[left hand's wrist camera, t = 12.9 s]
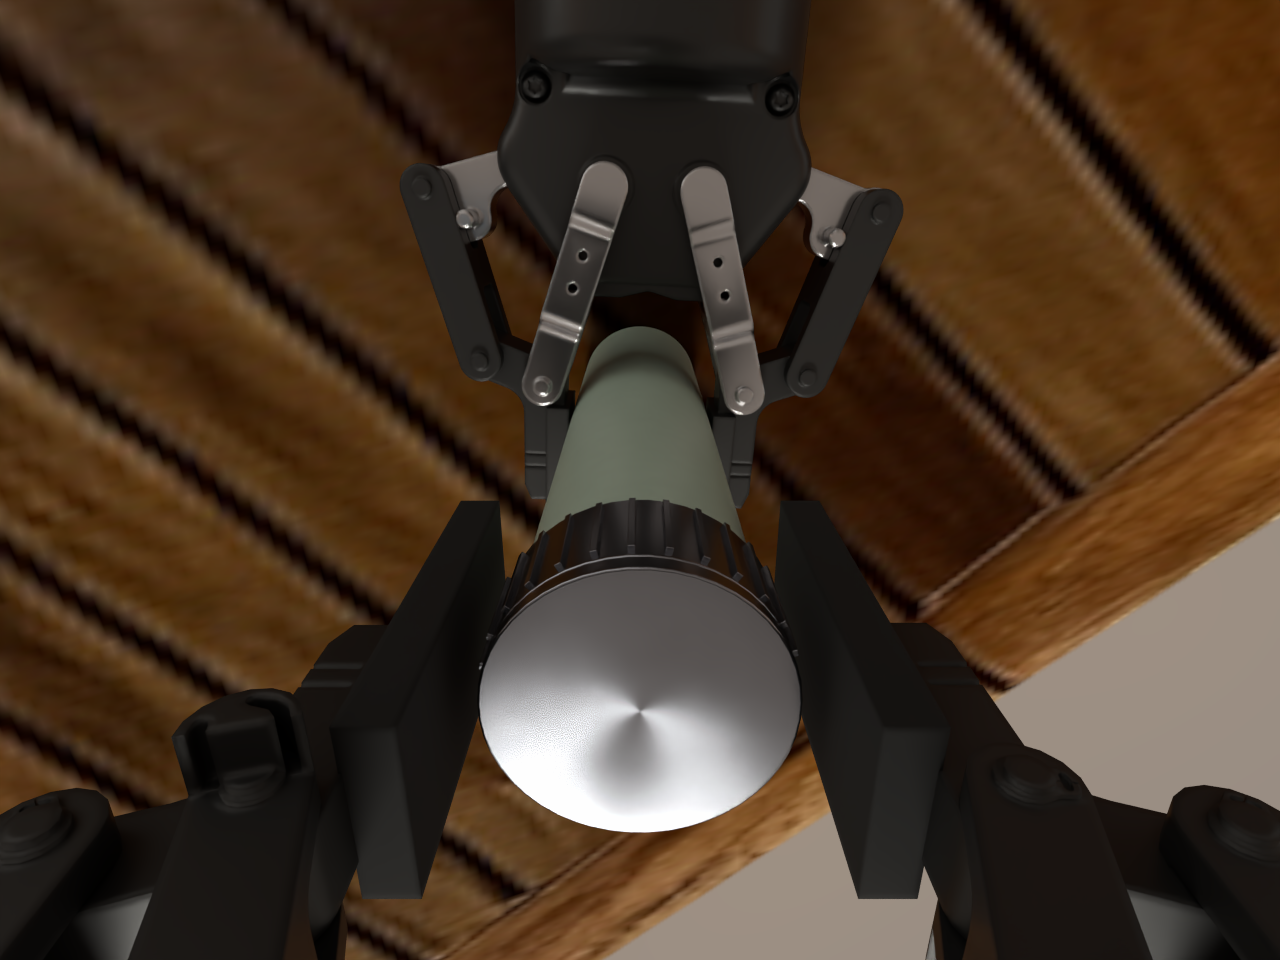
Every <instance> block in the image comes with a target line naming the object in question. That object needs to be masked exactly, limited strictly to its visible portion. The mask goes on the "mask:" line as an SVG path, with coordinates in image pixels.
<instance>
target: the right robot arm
mask: <svg viewBox="0 0 1280 960" xmlns="http://www.w3.org/2000/svg"><path fill="white" fill-rule="evenodd" d="M810 6H811V0H515V55H516V92H515V100H514V105H513V109H512V112H511V115H510V118H509V120H508V123H507V124H506V126H505V128H504V130H503V132H502V134H501V136H500V139H499V143H498V148H497V151H495V152H491V153H487V154H484V155H480V156H476V157H473V158H469V159H466V160H462V161H458V162H455V163H451V164H448V165H444V166H438V165H431V164H423V163H417V164H413V165H411V166H409V167H408V168H407V169H406V170H405V171H404V172H403V174H402V176H401V179H400V191H401V195H402V197H403V200H404V203H405V206H406V209H407V212H408V215H409V218H410V221H411V224H412V227H413V230H414V232H415V235H416V238H417V241H418V244H419V247H420V250H421V253H422V256H423V259H424V262H425V265H426V267H427V270H428V273H429V276H430V279H431V282H432V285H433V288H434V291H435V294H436V297H437V300H438V302H439V305H440V308H441V311H442V314H443V317H444V320H445V323H446V326H447V329H448V332H449V335H450V337H451V340H452V343H453V346H454V349H455V352H456V355H457V358H458V361H459V364H460V366H461V369H462V370H463V372H464V373H465V374H466V375H467V376H468V377H469V378H471V379H473V380H476V381H487V380H489V381H492V382H494V383H497V384H499V385H502V386H504V387H507V388H509V389H511V390H512V391H514V392H515V393H516V394H517V395H518V396H519V398H520V399H521V401H522V403H523V406H524V418H525V484H526V487H527V489H528V491H529V494H530V496H531V498H532V499H546V501H547V498H548V495H549V491H550V488H551V485H552V481H553V478H554V475H555V472H556V468H557V465H558V462H559V458H560V455H561V452H562V448H563V445H564V442H565V439H566V435H567V432H568V429H569V425H570V422H571V419H572V415H573V412H574V409H575V391H572V390H569V373H570V370H571V367H572V364H573V361H574V358H575V355H576V352H577V349H578V346H579V343H580V340H581V337H582V334H583V331H584V328H585V325H586V322H587V319H588V316H589V313H590V310H591V307H592V304H593V301H594V298H595V296H603V297H624V296H628V295H633V294H637V293H642V292H647V291H649V292H653V293H656V294H659V295H662V296H665V297H668V298H671V299H674V300H684V301H698V304H699V309H700V313H701V317H702V321H703V325H704V329H705V333H706V337H707V342H708V346H709V351H710V355H711V360H712V364H713V369H714V373H715V378H716V380H715V391H714V398H711V397H707V403H706V413H707V416H708V420H709V423H710V426H711V430H712V433H713V436H714V440H715V443H716V446H717V449H718V453H719V456H720V459H721V463H722V466H723V469H724V472H725V476H726V479H727V482H728V486H729V489H730V492H731V496H732V499H733V502H734V505H735V508H741V507H742V505H743V504H744V502H745V500H746V498H747V496H748V495H749V487H750V476H751V469H752V460H753V451H754V442H755V433H756V424H757V419H758V417H759V415H760V413H761V411H762V410H763V409H764V408H765V407H766V406H767V405H769V404H770V403H772V402H774V401H777V400H780V399H784V398H787V397H791V396H794V395H797V396H799V397H804V398H807V397H812V396H815V395H817V394H818V393H820V392H821V391H822V390H823V389H824V387H825V386H826V384H827V382H828V379H829V377H830V375H831V373H832V371H833V368H834V366H835V364H836V362H837V360H838V357H839V355H840V353H841V351H842V349H843V346H844V344H845V342H846V340H847V338H848V336H849V333H850V331H851V329H852V327H853V325H854V322H855V320H856V318H857V316H858V314H859V311H860V309H861V307H862V305H863V303H864V300H865V298H866V296H867V294H868V292H869V290H870V287H871V285H872V283H873V281H874V279H875V276H876V274H877V272H878V270H879V268H880V265H881V263H882V261H883V259H884V257H885V254H886V252H887V250H888V248H889V246H890V244H891V241H892V239H893V237H894V235H895V233H896V230H897V228H898V226H899V224H900V222H901V219H902V216H903V204H902V201H901V199H900V197H899V196H898V195H897V194H896V193H895V192H894V191H892V190H889V189H881V188H862V187H860V186H857V185H855V184H852V183H850V182H847V181H845V180H842V179H840V178H837V177H835V176H832V175H829V174H827V173H824V172H822V171H819V170H817V169H814V168H812V167H811V156H810V152H809V149H808V147H807V144H806V142H805V139H804V136H803V133H802V129H801V124H800V115H799V106H800V95H801V86H802V77H803V68H804V59H805V51H806V42H807V33H808V24H809V15H810ZM507 188H509V190H510V191H511V193H512V194H513V196H514V197H515V199H516V200H517V202H518V203H519V205H520V206H521V208H522V209H523V211H524V212H525V214H526V215H527V217H528V218H529V220H530V221H531V223H532V224H533V226H534V227H535V229H536V230H537V232H538V233H539V235H540V236H541V238H542V239H543V241H544V242H545V244H546V245H547V247H548V248H549V250H550V251H551V253H552V254H553V256H554V257H555V259H556V260H557V264H556V267H555V270H554V273H553V277H552V280H551V283H550V287H549V290H548V293H547V296H546V300H545V303H544V306H543V309H542V313H541V316H540V321H539V327H538V330H537V333H536V337H535V340H534V343H533V344H532V343H529V342H527V341H524V340H522V339H520V338H517V337H515V336H512V334H511V331H510V327H509V324H508V321H507V318H506V315H505V311H504V308H503V305H502V302H501V299H500V295H499V292H498V289H497V286H496V282H495V279H494V276H493V273H492V270H491V266H490V263H489V260H488V257H487V254H486V250H485V247H484V244H483V241H482V239H483V238H486V237H488V236H490V235H491V234H492V233H493V231H494V230H495V228H496V225H497V212H496V204H497V200H498V198H499V196H500V194H501V193H502V192H503V191H504V190H505V189H507ZM796 203H797V204H798V205H799V206H800V207H801V208H802V210H803V211H804V214H805V219H806V223H805V229H804V232H803V241H804V245H805V247H806V248H807V250H808V251H809V252H810V253H812V254H813V255H816V256H815V258H814V261H813V263H812V265H811V268H810V270H809V272H808V275H807V277H806V279H805V282H804V284H803V287H802V289H801V291H800V294H799V296H798V298H797V301H796V303H795V305H794V308H793V310H792V313H791V315H790V317H789V320H788V322H787V324H786V327H785V329H784V331H783V334H782V336H781V339H780V341H779V343H778V346H777V348H775V349H772V350H769V351H766V352H762V353H759V354H757V350H756V345H755V340H754V327H753V320H752V315H751V310H750V305H749V300H748V295H747V290H746V285H745V280H744V274H743V268H744V267H745V265H746V264H747V263H748V262H749V260H750V259H751V258H752V257H753V256H754V254H755V253H756V252H757V251H758V250H759V248H760V247H761V246H762V245H763V243H764V242H765V241H766V240H767V239H768V237H769V236H770V235H771V234H772V233H773V231H774V230H775V229H776V228H777V226H778V225H779V224H780V223H781V222H782V220H783V219H784V218H785V217H786V216H787V214H788V213H789V212H790V211H791V209H792V208H793V207H794V206H795V205H796Z"/></svg>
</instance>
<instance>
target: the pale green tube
mask: <svg viewBox="0 0 1280 960" xmlns="http://www.w3.org/2000/svg"><path fill="white" fill-rule="evenodd" d="M629 498H636V500H655V501H663V499H665V500H669V501H670V503H674V504H678V505H682V506H686V507H689V508H691V509H694V510H695V508H698V509H701V510H702V513H704V514H706V515H708V516H710V517H712V518H714V519H715V520H717V521H719V522H721V523H722V524H723V523H724V522H726V523H727V524H729V525H730V528H731V530H732V531H733V532H734V533H735V534H736V535H738V536H739V537H740V538H741V539H742V540H743V541H744V542H745V538H744V535H743V532H742V529H741V525H740V522H739V519H738V515H737V512H736V509H735V505H734V502H733V499H732V496H731V492H730V489H729V486H728V482H727V479H726V476H725V472H724V469H723V466H722V463H721V459H720V456H719V453H718V449H717V446H716V443H715V440H714V436H713V433H712V430H711V426H710V423H709V420H708V416H707V413H706V410H705V407H704V403H703V400H702V397H701V393H700V390H699V387H698V383H697V380H696V377H695V374H694V370H693V367H692V364H691V361H690V359H689V356H688V355H687V353H686V351H685V350H684V348H683V347H682V346H681V345H680V344H679V342H678V341H677V340H675V339H674V338H673V337H671V336H670V335H668V334H667V333H665V332H663V331H660V330H658V329H655V328H651V327H643V326H642V327H629V328H625V329H622V330H619V331H617V332H615V333H613V334H611V335H610V336H608V337H607V338H606V339H604V340H603V341H602V342H601V343H600V344H599V345H598V347H597V348H596V349H595V351H594V352H593V354H592V356H591V358H590V360H589V363H588V366H587V369H586V373H585V376H584V379H583V383H582V386H581V389H580V392H579V396H578V399H577V402H576V406H575V409H574V412H573V415H572V419H571V422H570V425H569V429H568V432H567V435H566V439H565V442H564V445H563V448H562V452H561V455H560V458H559V462H558V465H557V468H556V472H555V475H554V478H553V481H552V485H551V488H550V491H549V495H548V498H547V501H546V505H545V508H544V511H543V514H542V518H541V521H540V524H539V528H538V531H537V534H536V537H535V541H534V543H535V542H536V541H537V539H538V536H539V533H541V532H542V531H543V530H544V531H545V532H547V531H548V530H549V529H551V528H552V527H554V526H555V525H556V524H558V523H559V522H561V521H563V520H564V519H565V516H566V515H568V514H570V513H571V514H572V515H574V514H575V513H578V512H581V511H583V510H586V509H588V508H591V507H594V506H596V503H600V502H602V503H603V504H606V503H610V502H617V501H625V500H629ZM745 543H746V542H745Z"/></svg>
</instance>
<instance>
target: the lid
mask: <svg viewBox="0 0 1280 960" xmlns="http://www.w3.org/2000/svg"><path fill="white" fill-rule="evenodd" d="M486 639H487V642H486V645H485V648H484V651H483V653H482V656H481V659H480V662H479V669H481V673H480V677H479V682H478V693H477V706H478V716H479V721H480V725H481V729H482V732H483V736H484V739H485V741H486V743H487V745H488V748H489V750H490V752H491V754H492V756H493V757H494V759H495V760H496V762H497V764H498V765H499V767H500V768H501V769H502V771H503V772H504V773H505V774H506V775H507V777H508V778H509V779H510V780H511V781H512V782H513V783H514V784H515V785H516V786H517V787H518V788H519V789H520V790H521V791H522V792H523V793H525V794H526V795H527V796H529V797H530V798H531V799H533V800H534V801H536V802H537V803H538V804H540V805H541V806H543V807H545V808H547V809H549V810H550V811H552V812H554V813H556V814H558V815H560V816H563V817H565V818H567V819H570V820H572V821H575V822H578V823H581V824H584V825H588V826H591V827H595V828H601V829H606V830H611V831H620V832H659V831H669V830H674V829H679V828H684V827H689V826H692V825H695V824H698V823H702V822H705V821H708V820H710V819H712V818H715V817H717V816H719V815H722V814H724V813H726V812H728V811H729V810H731V809H733V808H735V807H736V806H738V805H740V804H741V803H743V802H744V801H746V800H747V799H748V798H750V797H751V796H752V795H754V794H755V793H756V792H757V791H758V790H760V789H761V788H762V787H763V786H764V785H765V784H766V783H767V782H768V781H769V780H770V779H771V778H772V776H773V775H774V774H775V773H776V771H777V770H778V769H779V768H780V766H781V765H782V763H783V762H784V760H785V758H786V757H787V755H788V753H789V752H790V749H791V747H792V745H793V742H794V740H795V738H796V735H797V732H798V728H799V724H800V720H801V713H802V703H803V697H802V680H801V677H800V674H799V669H798V665H797V662H796V659H795V657H796V656H799V652H798V649H797V646H796V643H795V640H794V637H793V634H792V631H791V628H790V626H789V623H788V620H787V617H786V614H785V611H784V608H783V605H782V602H781V600H780V597H779V594H778V592H777V591H776V588H775V585H774V582H773V579H772V576H771V573H770V571H769V568H768V567H767V566H764V567H762V565H761V563H760V562H759V560H758V558H757V557H756V555H755V551H754V548H753V545H752V544H751V543H750V542H748V543H745V542H744V541H743V540H742V539H741V538H740V537H739V536H738V535H736V534H735V533H734V532H733V531H732V530H731V528H730V525H729V524H727V523H726V522H724V523H723V524H722V523H721V522H719V521H717V520H715V519H714V518H712V517H710V516H708V515H706V514H704V513H702V510H701V509H698V508H695V510H694V509H691V508H689V507H686V506H682V505H678V504H674V503H670V501H669V500H665V499H663V501H655V500H636V498H629V500H625V501H617V502H610V503H606V504H603V503H602V502H600V503H596V506H594V507H591V508H588V509H586V510H583V511H581V512H578V513H575V514H574V515H572V514H571V513H570V514H568V515H566V516H565V519H564V520H563V521H561V522H559V523H558V524H556V525H555V526H554V527H552V528H551V529H549V530H548V531H547V532H545V531H544V530H543V531H542V532H541V533H539V536H538V539H537V541H536V542H535V543H534V544H533V545H532V546H531V547H530V549H529V550H528V551H527V552H526V554H525V553H523V552H522V553H521V554H520V555H519V557H518V560H517V563H516V566H515V569H514V572H513V575H512V578H509V577H507V578H506V581H505V584H504V586H503V589H502V592H501V595H500V598H499V601H498V604H497V607H496V610H495V612H494V615H493V618H492V621H491V624H490V627H489V630H488V633H487V635H486Z"/></svg>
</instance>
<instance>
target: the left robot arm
mask: <svg viewBox="0 0 1280 960" xmlns="http://www.w3.org/2000/svg"><path fill="white" fill-rule="evenodd" d="M504 584H505V570H504V557H503V544H502V531H501V518H500V505H499V501H461V502H460V503H459V505H458V507H457V509H456V510H455V512H454V514H453V515H452V517H451V519H450V521H449V522H448V524H447V526H446V527H445V529H444V531H443V533H442V534H441V536H440V538H439V539H438V541H437V543H436V545H435V546H434V548H433V550H432V551H431V553H430V555H429V557H428V558H427V560H426V562H425V563H424V565H423V567H422V569H421V570H420V572H419V574H418V575H417V577H416V579H415V581H414V582H413V584H412V586H411V587H410V589H409V591H408V593H407V594H406V596H405V598H404V599H403V601H402V603H401V605H400V606H399V608H398V610H397V611H396V613H395V615H394V617H393V618H392V620H391V622H390V623H389V625H354V626H352V627H351V628H350V629H348V630H347V631H345V632H344V633H343V634H341V635H340V636H338V637H337V638H336V639H334V640H333V641H332V642H330V643H329V644H328V645H327V647H326V648H325V650H324V651H323V653H322V654H321V655H320V657H319V658H318V660H317V661H316V663H315V664H314V669H311V670H310V671H309V673H308V674H307V676H306V677H305V679H304V680H303V681H302V685H301V687H298V689H297V690H296V692H295V693H294V694H293V695H292V694H291V693H290V692H286V691H282V690H277V689H273V688H269V689H250V690H246V691H242V692H239V693H235V694H231V695H227V696H224V697H222V698H220V699H218V700H216V701H214V702H212V703H210V704H207V705H205V706H203V707H201V708H200V709H199V710H197V711H196V712H195V713H193V714H192V715H191V716H189V717H188V718H187V719H186V720H184V721H183V722H182V723H181V725H180V726H179V728H178V729H177V730H176V732H175V733H174V734H173V736H172V737H171V738H172V741H173V744H174V748H175V751H176V754H177V758H178V761H179V764H180V768H181V771H182V775H183V778H184V781H185V785H186V788H187V791H188V795H189V796H188V798H187V799H184V800H180V801H177V802H174V803H171V804H166V805H162V806H158V807H154V808H149V809H145V810H141V811H136V812H132V813H128V814H124V815H119V816H115V817H114V816H113V813H112V810H111V807H110V804H109V801H108V799H106V798H105V797H104V796H103V795H102V794H100V793H99V792H98V791H96V790H89V789H81V788H73V789H67V790H61V791H55V792H50V793H47V794H44V795H42V796H39V797H36V798H33V799H31V800H28V801H25V802H22V803H20V804H19V805H17V806H15V807H13V808H12V809H10V810H8V811H6V812H4V813H3V814H1V815H0V960H345V949H346V937H347V923H346V917H345V911H344V906H343V899H344V896H345V894H346V891H347V889H348V887H349V884H350V882H351V880H352V877H353V875H354V872H355V870H356V868H357V873H358V878H359V884H360V889H361V894H362V899H422V896H423V893H424V890H425V886H426V883H427V880H428V877H429V874H430V870H431V867H432V864H433V861H434V857H435V854H436V851H437V848H438V844H439V841H440V838H441V835H442V832H443V828H444V825H445V822H446V819H447V815H448V812H449V809H450V806H451V802H452V799H453V796H454V793H455V790H456V786H457V783H458V780H459V777H460V773H461V770H462V767H463V764H464V761H465V757H466V754H467V751H468V748H469V744H470V741H471V738H472V735H473V731H474V728H475V725H476V722H477V719H478V706H477V693H478V682H479V677H480V673H481V669H479V662H480V659H481V656H482V653H483V651H484V648H485V645H486V642H487V639H486V635H487V633H488V630H489V627H490V624H491V621H492V618H493V615H494V612H495V610H496V607H497V604H498V601H499V598H500V595H501V592H502V589H503V586H504ZM774 585H775V588H776V591H777V592H778V594H779V597H780V600H781V602H782V605H783V608H784V611H785V614H786V617H787V620H788V623H789V626H790V628H791V631H792V634H793V637H794V640H795V643H796V646H797V649H798V652H799V656H796V657H795V659H796V662H797V665H798V669H799V674H800V677H801V680H802V697H803V703H802V713H801V715H802V719H803V722H804V725H805V728H806V731H807V735H808V738H809V741H810V744H811V748H812V751H813V754H814V757H815V761H816V764H817V767H818V770H819V773H820V777H821V780H822V783H823V786H824V790H825V793H826V796H827V799H828V802H829V806H830V809H831V812H832V815H833V818H834V822H835V825H836V828H837V831H838V835H839V838H840V841H841V844H842V848H843V851H844V854H845V857H846V861H847V864H848V867H849V870H850V873H851V876H852V880H853V883H854V886H855V890H856V893H857V896H858V899H917V898H918V893H919V889H920V883H921V878H922V873H923V868H924V867H925V869H926V871H927V874H928V876H929V878H930V881H931V883H932V885H933V888H934V890H935V893H936V895H937V897H938V901H937V906H936V911H935V916H934V921H933V925H932V930H931V935H930V939H929V944H928V949H927V954H926V960H1280V811H1279V810H1277V809H1275V808H1273V807H1272V806H1270V805H1268V804H1266V803H1264V802H1263V801H1261V800H1259V799H1256V798H1253V797H1251V796H1248V795H1245V794H1243V793H1240V792H1237V791H1234V790H1231V789H1226V788H1220V787H1213V786H1207V785H1200V786H1193V787H1185V788H1183V789H1182V790H1181V791H1180V792H1178V793H1177V794H1176V795H1175V796H1173V799H1172V801H1171V804H1170V807H1169V810H1168V813H1167V814H1165V813H1161V812H1156V811H1152V810H1148V809H1143V808H1139V807H1135V806H1131V805H1126V804H1122V803H1118V802H1113V801H1109V800H1106V799H1103V798H1100V797H1096V796H1093V795H1091V793H1090V792H1089V790H1088V788H1087V787H1086V785H1085V784H1084V782H1083V781H1082V779H1081V778H1080V777H1079V776H1078V775H1077V774H1076V773H1075V772H1073V771H1072V770H1071V769H1070V768H1069V767H1067V766H1066V765H1065V764H1064V763H1063V762H1061V761H1059V760H1057V759H1055V758H1054V757H1052V756H1050V755H1048V754H1046V753H1044V752H1042V751H1040V750H1037V749H1033V748H1030V747H1027V746H1024V744H1023V743H1022V741H1021V740H1020V739H1019V737H1018V736H1017V734H1016V733H1015V731H1014V730H1013V729H1012V727H1011V726H1010V724H1009V723H1008V721H1007V720H1006V718H1005V717H1004V716H1003V714H1002V713H1001V711H1000V710H999V708H998V707H997V706H996V704H995V703H994V701H993V700H992V698H991V697H990V696H989V694H988V693H987V691H986V690H985V688H984V687H983V685H979V680H978V678H977V677H976V675H975V674H974V673H973V671H972V670H971V668H970V667H967V662H966V661H965V660H964V658H963V657H962V655H961V654H960V652H959V651H958V650H957V648H956V647H955V645H954V644H953V642H952V641H951V640H949V639H948V638H946V637H945V636H944V635H942V634H941V633H939V632H938V631H937V630H935V629H934V628H933V627H931V626H930V625H928V624H927V623H890V622H889V620H888V618H887V617H886V615H885V613H884V611H883V610H882V608H881V606H880V605H879V603H878V601H877V599H876V598H875V596H874V594H873V593H872V591H871V589H870V587H869V586H868V584H867V582H866V581H865V579H864V577H863V575H862V574H861V572H860V570H859V569H858V567H857V565H856V563H855V562H854V560H853V558H852V557H851V555H850V553H849V551H848V550H847V548H846V546H845V545H844V543H843V541H842V539H841V538H840V536H839V534H838V533H837V531H836V529H835V527H834V526H833V524H832V522H831V521H830V519H829V517H828V515H827V514H826V512H825V510H824V509H823V507H822V505H821V503H820V502H819V501H781V505H780V518H779V531H778V544H777V557H776V570H775V583H774Z"/></svg>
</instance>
